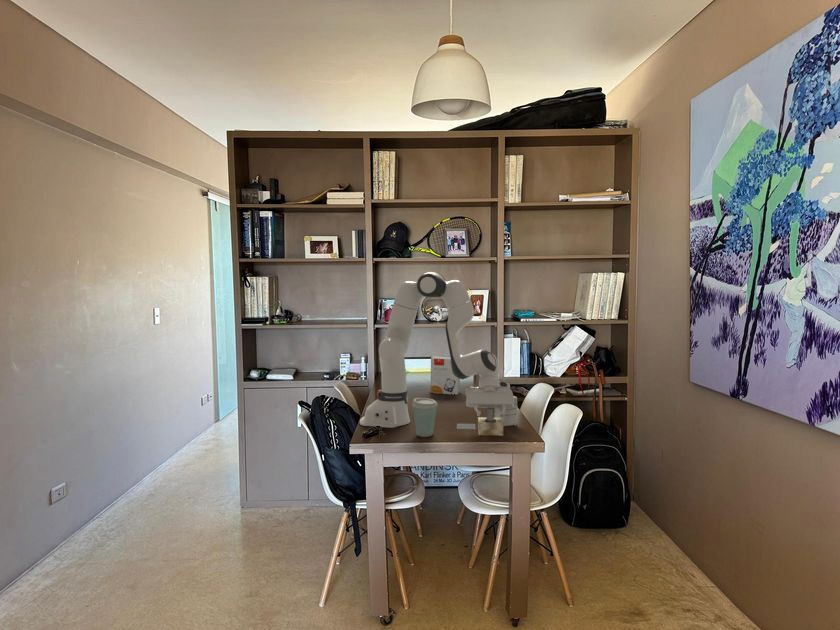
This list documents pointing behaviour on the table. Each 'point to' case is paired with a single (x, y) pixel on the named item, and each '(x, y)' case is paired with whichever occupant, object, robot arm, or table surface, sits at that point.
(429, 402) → the disposable coffee cup
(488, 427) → the birch block
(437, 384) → the hard drive box
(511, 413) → the supplement box
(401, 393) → the robot arm
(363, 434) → the table surface
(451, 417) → the table surface
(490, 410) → the steel pin
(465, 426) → the rubber mat
